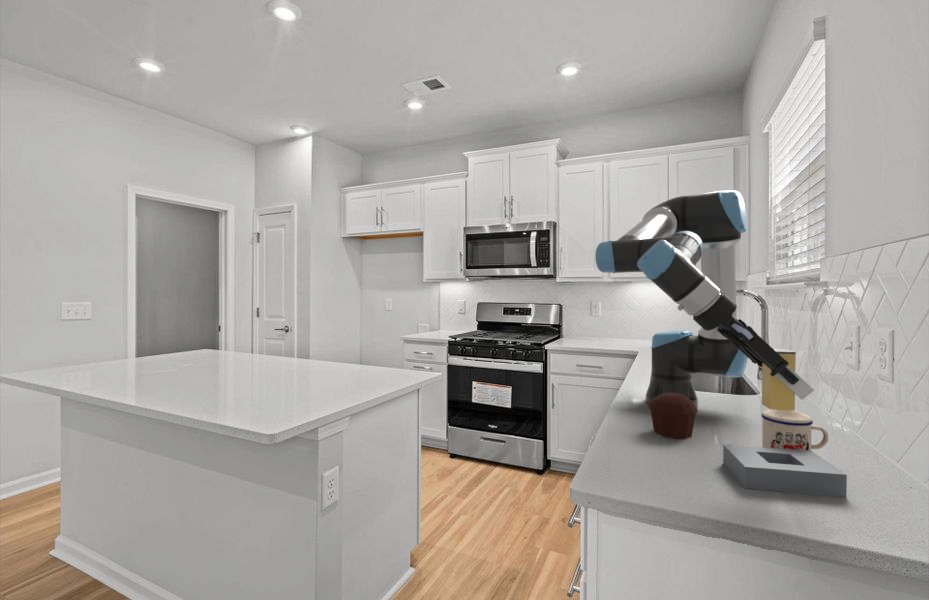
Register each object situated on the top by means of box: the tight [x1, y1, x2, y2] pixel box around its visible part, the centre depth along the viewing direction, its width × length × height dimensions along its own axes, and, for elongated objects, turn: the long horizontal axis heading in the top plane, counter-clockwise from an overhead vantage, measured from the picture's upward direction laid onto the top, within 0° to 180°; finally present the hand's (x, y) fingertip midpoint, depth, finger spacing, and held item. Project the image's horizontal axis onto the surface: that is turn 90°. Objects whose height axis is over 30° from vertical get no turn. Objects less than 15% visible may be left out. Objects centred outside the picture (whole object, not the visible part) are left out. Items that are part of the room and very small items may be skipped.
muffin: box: [647, 393, 699, 440], centre depth 114 cm, size 12×11×10 cm
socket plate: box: [722, 444, 848, 498], centre depth 86 cm, size 12×16×4 cm
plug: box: [761, 348, 797, 411], centre depth 86 cm, size 4×4×11 cm
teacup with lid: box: [761, 408, 829, 451], centre depth 97 cm, size 12×9×12 cm
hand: (800, 391), depth 85 cm, fingers closed on plug, 4 cm apart
